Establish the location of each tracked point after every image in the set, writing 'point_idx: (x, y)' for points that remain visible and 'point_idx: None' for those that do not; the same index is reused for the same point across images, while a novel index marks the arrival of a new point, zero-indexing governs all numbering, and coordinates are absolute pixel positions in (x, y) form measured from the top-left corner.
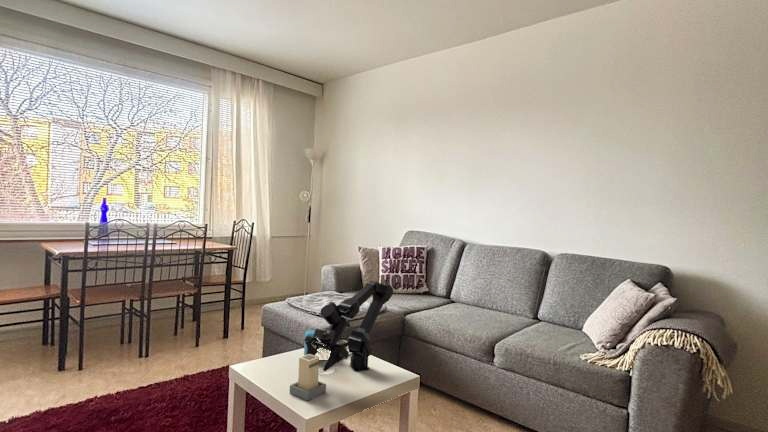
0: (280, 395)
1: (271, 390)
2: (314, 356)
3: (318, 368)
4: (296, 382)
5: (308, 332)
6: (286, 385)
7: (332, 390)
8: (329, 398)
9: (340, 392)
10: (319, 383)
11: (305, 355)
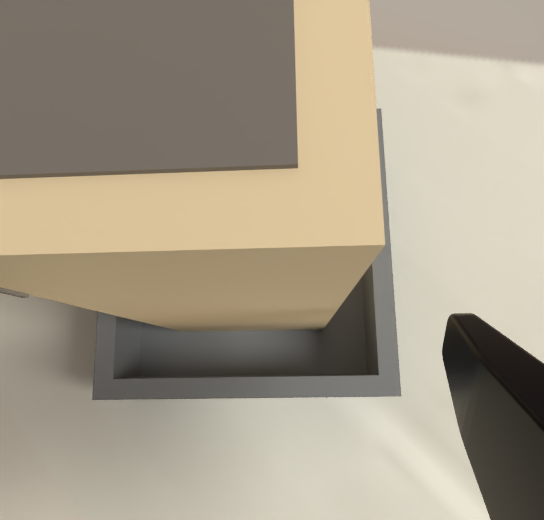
0: (397, 76)
1: (535, 82)
2: (56, 199)
3: (74, 302)
4: (384, 198)
5: None
6: (529, 237)
7: (99, 471)
8: (23, 320)
9: (7, 492)
10: (184, 377)
11: (358, 51)
